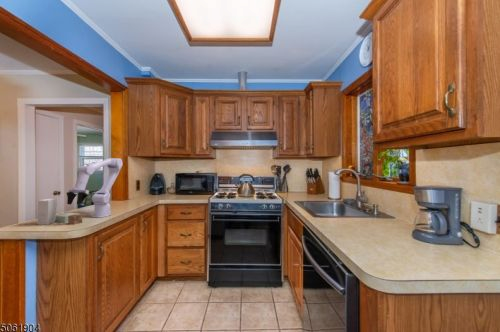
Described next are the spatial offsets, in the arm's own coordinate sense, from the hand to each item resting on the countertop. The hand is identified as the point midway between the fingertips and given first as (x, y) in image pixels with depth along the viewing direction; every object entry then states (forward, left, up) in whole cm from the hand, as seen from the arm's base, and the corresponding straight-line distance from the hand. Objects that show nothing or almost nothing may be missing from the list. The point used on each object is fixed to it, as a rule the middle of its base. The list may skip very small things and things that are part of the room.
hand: (73, 204), depth 150 cm
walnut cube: (-1, 0, -12) cm, 12 cm away
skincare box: (+5, -15, -12) cm, 20 cm away
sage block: (-5, -12, -12) cm, 17 cm away
